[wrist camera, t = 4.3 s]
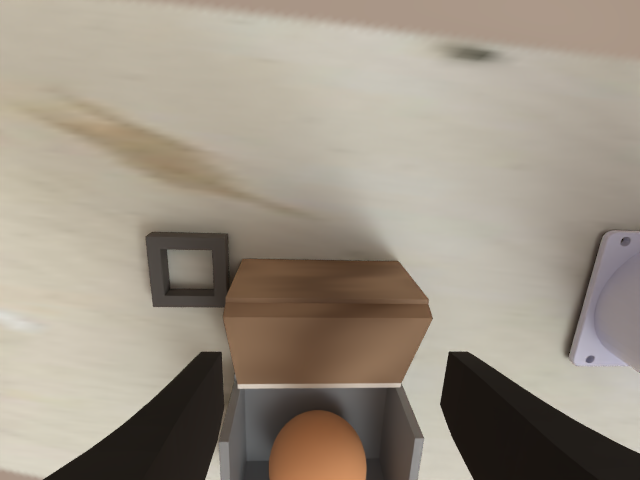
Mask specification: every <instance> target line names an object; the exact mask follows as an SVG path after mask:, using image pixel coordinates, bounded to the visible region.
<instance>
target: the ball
mask: <svg viewBox="0 0 640 480" xmlns="http://www.w3.org/2000/svg"><path fill="white" fill-rule="evenodd" d="M366 470H367V465H366V456H365V451H364V448H363V445H362V442H361V440H360V438H359V436H358V434H357V433H356V431H355V430H354V429H353V427H352V426H351V425H350V424H349V423H348V422H347V421H346V420H345V419H343V418H342V417H340V416H339V415H336V414H334V413H332V412H329V411H324V410H311V411H307V412H304V413H301V414H299V415H297V416H295V417H294V418H292V419H291V420H290V421H289V422H288V423H286V424H285V426H284V427H283V428H282V429H281V431H280V432H279V434H278V435H277V437H276V439H275V441H274V443H273V446H272V449H271V453H270V457H269V479H270V480H366Z"/></svg>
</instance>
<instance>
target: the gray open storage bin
mask: <svg viewBox="0 0 640 480" xmlns="http://www.w3.org/2000/svg"><path fill="white" fill-rule="evenodd" d="M311 410H324V411H329V412H332V413H334V414H336V415H339V416H340V417H342V418H343V419H345V420H346V421H347V422H348V423H349V424H350V425H351V426H352V427H353V429H354V430H355V431H356V433H357V434H358V436H359V438H360V440H361V442H362V445H363V448H364V451H365V456H366V465H367V470H366V480H418V474H419V468H420V462H421V455H422V449H423V442H424V437H423V434H422V432H421V430H420V427H419V425H418V422H417V420H416V418H415V415H414V413H413V410H412V408H411V405H410V403H409V401H408V398H407V396H406V393H405V391H404V388H403V386H402V384H401V387H390V388H260V389H238V384H237V379H236V375H235V373H234V385H233V389H232V392H231V396H230V400H229V404H228V408H227V412H226V416H225V420H224V423H223V427H222V431H221V435H220V439H219V457H220V475H221V480H270V479H269V457H270V453H271V449H272V446H273V443H274V441H275V439H276V437H277V435H278V434H279V432H280V431H281V429H282V428H283V427H284V426H285V424H286V423H288V422H289V421H290V420H291V419H292V418H294V417H295V416H297V415H299V414H301V413H304V412H307V411H311Z"/></svg>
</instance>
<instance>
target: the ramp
mask: <svg viewBox="0 0 640 480" xmlns="http://www.w3.org/2000/svg"><path fill="white" fill-rule="evenodd" d="M428 303H429V299H428V298H427V297H426V295H425V294H424V293H423V292H422V290H421V289H420V288H419V286H418V285H417V284H416V283H415V281H414V280H413V279H412V277H411V276H410V275H409V274H408V272H407V271H406V270H405V269H404V267H403V266H402V265H401V263H400V262H399V261H343V260H284V259H242V262H241V264H240V266H239V268H238V271H237V273H236V275H235V277H234V280H233V282H232V284H231V286H230V289H229V291H228V293H227V296H226V304H225V309H224V314H223V320H224V325H225V329H226V334H227V338H228V343H229V347H230V352H231V356H232V361H233V366H234V370H235V375H236V379H237V384H238V389H260V388H390V387H401V382H402V380H403V378H404V376H405V374H406V372H407V370H408V368H409V366H410V364H411V362H412V360H413V358H414V356H415V354H416V352H417V350H418V348H419V346H420V343H421V341H422V339H423V337H424V335H425V333H426V331H427V329H428V327H429V325H430V323H431V321H432V319H433V318H432V314H431V311H430V308H429V305H428Z"/></svg>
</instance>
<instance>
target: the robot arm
mask: <svg viewBox="0 0 640 480" xmlns="http://www.w3.org/2000/svg"><path fill="white" fill-rule="evenodd" d="M623 238H624V240H623V242H622V243H621V240H622V239H623ZM569 360H570V361H571V362H572V363H573V364H574V365H576V366H631V367H632V368H633V369H635V370H636V371H638V372H639V373H640V231H622V230H612V231H609V232H607V233H605V235H604V236H603V237H602V240H601V243H600V247H599V250H598V254H597V258H596V261H595V265H594V268H593V272H592V275H591V279H590V282H589V286H588V290H587V293H586V297H585V300H584V304H583V307H582V311H581V315H580V318H579V322H578V325H577V329H576V332H575V336H574V340H573V343H572V347H571V350H570V354H569ZM440 405H441V408H442V411H443V414H444V417H445V420H446V423H447V425H448V428H449V430H450V433H451V436H452V438H453V440H454V442H455V444H456V446H457V448H458V450H459V452H460V454H461V456H462V458H463V460H464V462H465V464H466V466H467V468H468V469H469V471H470V473H471V475H472V477H473V479H474V480H640V454H639V453H637V452H635V451H633V450H631V449H629V448H627V447H625V446H623V445H621V444H619V443H617V442H615V441H613V440H611V439H609V438H607V437H605V436H603V435H601V434H599V433H598V432H596V431H594V430H592V429H590V428H588V427H586V426H584V425H583V424H581V423H579V422H577V421H575V420H574V419H572V418H570V417H569V416H567V415H565V414H564V413H562V412H560V411H559V410H557V409H555V408H554V407H552V406H550V405H549V404H547V403H545V402H544V401H542V400H541V399H539V398H538V397H536V396H534V395H533V394H531V393H530V392H528V391H527V390H525V389H524V388H522V387H521V386H519V385H518V384H516V383H515V382H513V381H512V380H510V379H509V378H507V377H506V376H504V375H503V374H501V373H500V372H498V371H497V370H495V369H494V368H492V367H491V366H489V365H488V364H486V363H485V362H483V361H482V360H480V359H479V358H477V357H476V356H474V355H472V354H471V353H469V352H449V354H448V360H447V366H446V372H445V378H444V384H443V390H442V396H441V402H440ZM223 410H224V394H223V373H222V352H201V353H200V354H199V355H198V356H196V357H195V358H194V359H193V360H192V361H191V362H190V363H189V364H188V365H187V366H186V367H185V368H184V369H183V370H182V371H181V372H180V373H179V374H178V375H177V376H176V377H175V378H174V379H173V380H172V381H171V382H170V383H169V384H168V385H167V386H166V387H165V388H164V389H163V390H162V391H161V392H160V393H159V394H157V395H156V396H155V397H154V398H153V399H152V400H151V401H150V402H149V403H148V404H146V405H145V406H144V407H143V408H142V409H141V410H139V411H138V412H137V413H136V414H135V415H134V416H132V417H131V418H130V419H129V420H128V421H127V422H125V423H124V424H123V425H122V426H120V427H119V428H118V429H116V430H115V431H114V432H112V433H111V434H110V435H108V436H107V437H106V438H104V439H103V440H102V441H100V442H99V443H98V444H96V445H95V446H93V447H92V448H91V449H89V450H88V451H86V452H85V453H83V454H82V455H80V456H79V457H77V458H76V459H74V460H73V461H71V462H69V463H68V464H66V465H65V466H63V467H62V468H60V469H59V470H57V471H56V472H54V473H53V474H51V475H49V476H48V477H46V478H45V479H43V480H205V478H206V475H207V472H208V469H209V466H210V462H211V459H212V456H213V453H214V450H215V447H216V443H217V440H218V435H219V430H220V425H221V420H222V415H223Z"/></svg>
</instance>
